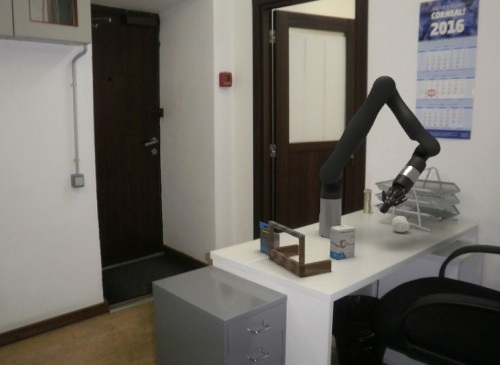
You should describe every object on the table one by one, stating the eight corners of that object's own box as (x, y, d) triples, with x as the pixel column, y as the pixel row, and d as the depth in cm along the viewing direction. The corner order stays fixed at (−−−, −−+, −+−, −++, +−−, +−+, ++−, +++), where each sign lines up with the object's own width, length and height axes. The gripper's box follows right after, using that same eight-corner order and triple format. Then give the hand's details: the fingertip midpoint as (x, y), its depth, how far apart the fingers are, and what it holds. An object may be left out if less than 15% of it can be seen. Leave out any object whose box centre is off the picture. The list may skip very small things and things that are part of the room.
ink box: (337, 260, 173) (337, 229, 171) (329, 256, 177) (329, 226, 176) (355, 256, 177) (355, 226, 175) (346, 253, 181) (347, 224, 179)
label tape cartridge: (280, 254, 181) (280, 224, 179) (272, 256, 179) (272, 225, 177) (267, 249, 188) (267, 219, 186) (259, 250, 186) (259, 221, 184)
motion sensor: (412, 234, 207) (412, 217, 206) (396, 235, 206) (396, 218, 205) (404, 229, 215) (404, 213, 214) (388, 230, 214) (389, 214, 213)
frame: (268, 258, 176) (268, 221, 174) (296, 253, 182) (296, 217, 179) (301, 277, 156) (301, 235, 153) (331, 271, 161) (331, 230, 159)
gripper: (389, 171, 191) (366, 203, 188) (414, 175, 179) (389, 209, 176) (399, 183, 194) (375, 214, 191) (423, 187, 182) (399, 221, 179)
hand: (382, 212), depth 183 cm, fingers closed
